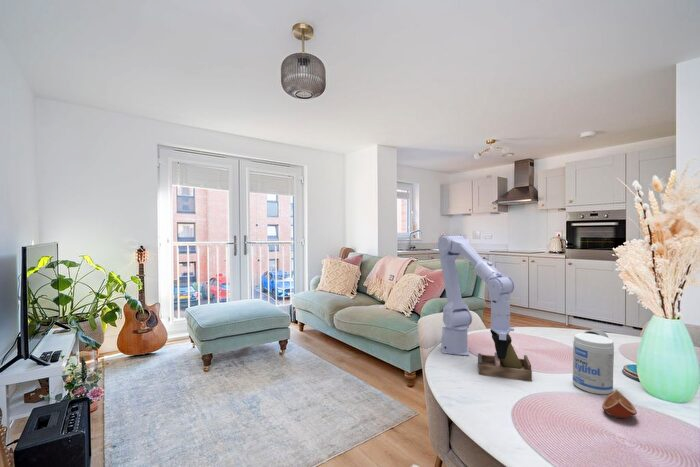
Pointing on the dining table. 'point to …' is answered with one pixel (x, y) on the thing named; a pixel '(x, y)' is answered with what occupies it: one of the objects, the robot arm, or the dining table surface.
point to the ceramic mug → (597, 332)
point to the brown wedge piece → (618, 405)
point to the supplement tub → (593, 363)
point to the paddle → (497, 360)
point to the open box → (504, 368)
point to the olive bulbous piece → (511, 357)
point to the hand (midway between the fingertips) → (500, 355)
